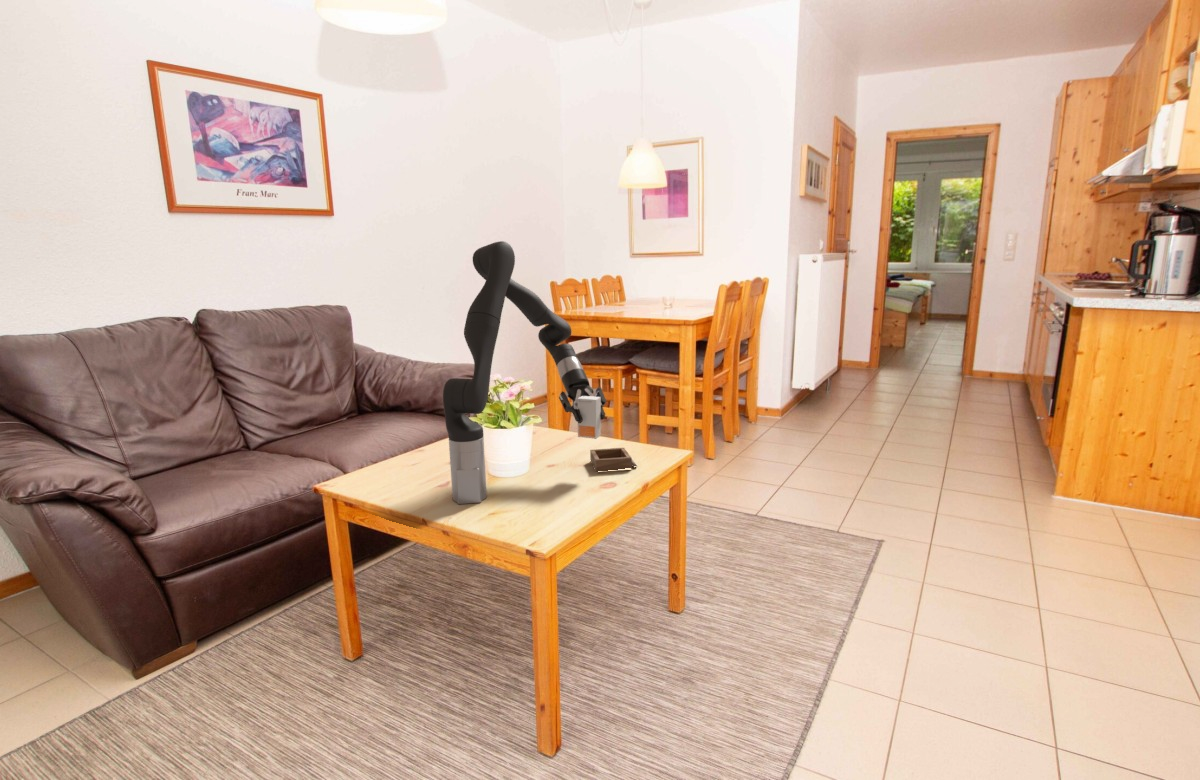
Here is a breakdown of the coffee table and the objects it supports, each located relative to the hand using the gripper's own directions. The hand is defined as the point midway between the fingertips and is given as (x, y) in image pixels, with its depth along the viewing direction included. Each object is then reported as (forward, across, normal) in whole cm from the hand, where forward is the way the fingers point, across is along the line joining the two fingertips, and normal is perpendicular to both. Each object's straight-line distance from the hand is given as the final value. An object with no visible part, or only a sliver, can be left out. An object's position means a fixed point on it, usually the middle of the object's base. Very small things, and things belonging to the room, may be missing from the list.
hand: (591, 419), depth 186 cm
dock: (+9, +10, +15) cm, 21 cm away
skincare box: (+3, 0, +5) cm, 6 cm away
